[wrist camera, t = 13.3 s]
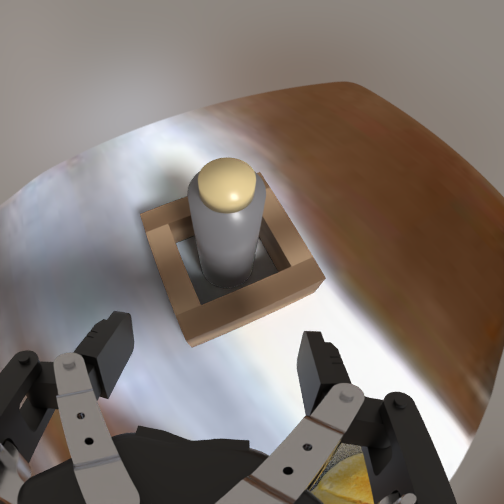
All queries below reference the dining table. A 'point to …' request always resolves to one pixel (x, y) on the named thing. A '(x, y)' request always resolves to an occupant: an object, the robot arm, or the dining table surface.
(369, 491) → the bread roll
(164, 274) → the socket
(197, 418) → the dining table surface
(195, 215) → the plug
